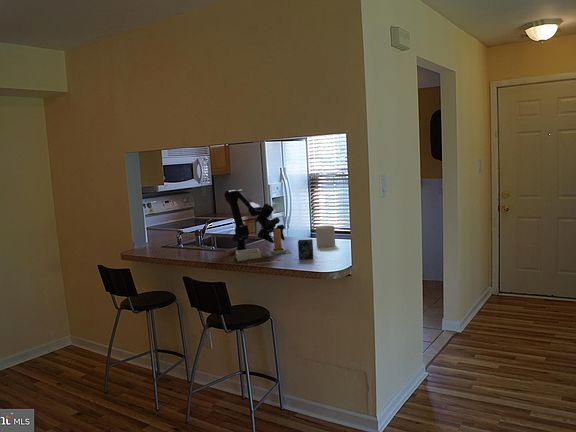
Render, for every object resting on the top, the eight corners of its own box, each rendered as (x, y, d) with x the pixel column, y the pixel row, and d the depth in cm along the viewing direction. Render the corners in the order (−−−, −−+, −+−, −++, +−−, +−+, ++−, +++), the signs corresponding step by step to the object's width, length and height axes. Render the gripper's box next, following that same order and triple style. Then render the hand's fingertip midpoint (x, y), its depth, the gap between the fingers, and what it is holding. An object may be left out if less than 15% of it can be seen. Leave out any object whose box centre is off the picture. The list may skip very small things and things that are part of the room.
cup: (334, 247, 316) (333, 228, 314) (315, 247, 318) (314, 229, 316) (336, 243, 327) (335, 225, 325) (318, 244, 329) (317, 226, 328)
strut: (274, 252, 308) (272, 229, 306) (281, 251, 309) (279, 228, 307) (275, 253, 304) (273, 230, 302) (282, 252, 305) (281, 229, 303)
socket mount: (265, 253, 312) (264, 248, 312) (287, 250, 315) (287, 246, 314) (268, 257, 299) (268, 252, 298) (292, 255, 301) (291, 250, 301)
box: (298, 259, 287) (297, 241, 286) (300, 257, 293) (298, 239, 291) (312, 259, 286) (311, 240, 285) (313, 257, 292) (312, 239, 290)
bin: (235, 257, 307) (235, 250, 306) (258, 254, 309) (257, 248, 309) (238, 261, 293) (237, 255, 293) (261, 259, 296) (260, 252, 295)
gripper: (259, 215, 300) (273, 235, 293) (281, 211, 313) (295, 230, 307) (251, 228, 306) (265, 247, 300) (273, 223, 319) (287, 242, 313)
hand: (278, 241), depth 305 cm, fingers open, 9 cm apart
